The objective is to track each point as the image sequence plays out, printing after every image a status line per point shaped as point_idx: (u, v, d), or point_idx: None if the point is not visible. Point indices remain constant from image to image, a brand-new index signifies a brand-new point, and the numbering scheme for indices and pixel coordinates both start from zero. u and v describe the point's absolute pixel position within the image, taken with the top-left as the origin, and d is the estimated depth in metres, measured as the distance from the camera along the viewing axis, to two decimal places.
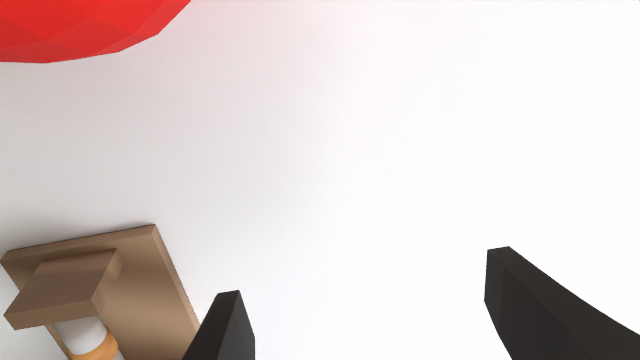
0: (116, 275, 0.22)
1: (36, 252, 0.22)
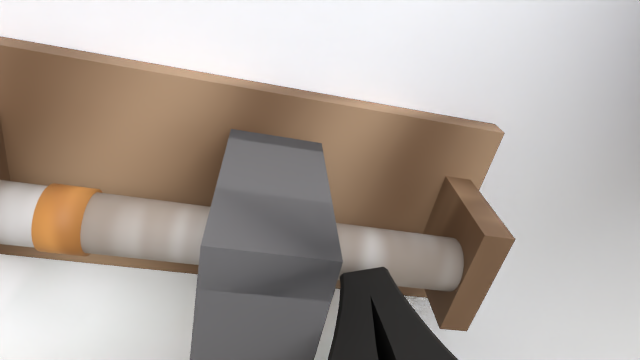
0: None
1: None
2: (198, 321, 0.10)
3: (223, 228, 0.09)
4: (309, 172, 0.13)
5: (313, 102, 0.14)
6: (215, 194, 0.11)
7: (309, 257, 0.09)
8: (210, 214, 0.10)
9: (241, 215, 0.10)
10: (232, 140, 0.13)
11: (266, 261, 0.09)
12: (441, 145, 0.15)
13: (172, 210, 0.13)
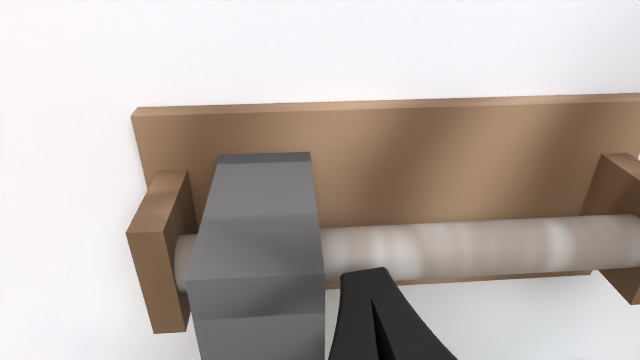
0: (176, 186, 0.14)
1: None
2: (203, 349, 0.10)
3: (208, 259, 0.10)
4: (295, 185, 0.13)
5: (468, 108, 0.15)
6: (201, 225, 0.11)
7: (291, 274, 0.09)
8: (196, 247, 0.10)
9: (225, 242, 0.10)
10: (220, 166, 0.14)
11: (251, 285, 0.09)
12: (596, 124, 0.15)
13: (367, 234, 0.14)
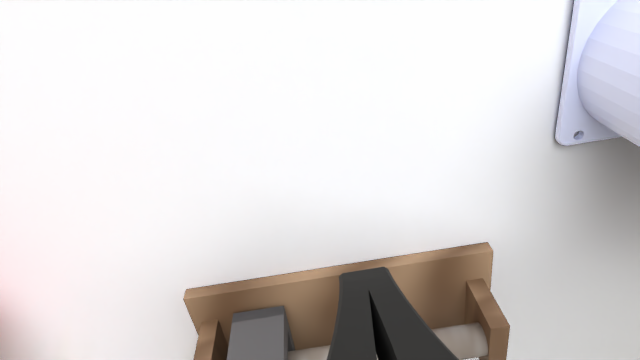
0: (212, 335, 0.25)
1: None
2: None
3: None
4: (274, 337, 0.23)
5: None
6: None
7: None
8: None
9: None
10: (233, 324, 0.25)
11: None
12: (456, 267, 0.25)
13: (320, 355, 0.24)
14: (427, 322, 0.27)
